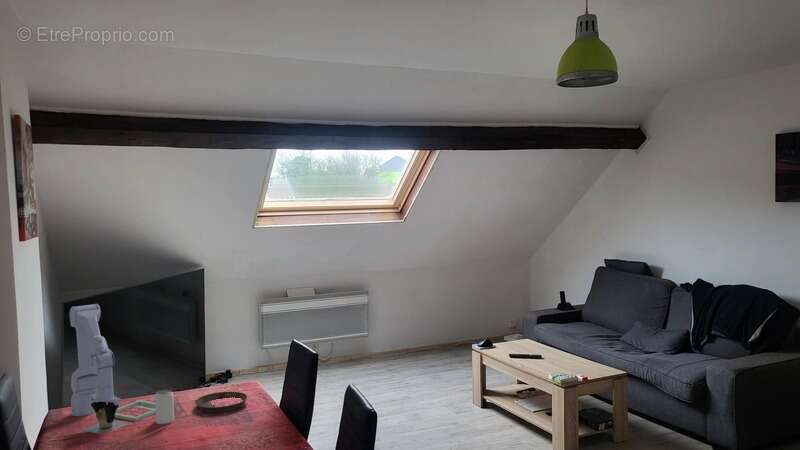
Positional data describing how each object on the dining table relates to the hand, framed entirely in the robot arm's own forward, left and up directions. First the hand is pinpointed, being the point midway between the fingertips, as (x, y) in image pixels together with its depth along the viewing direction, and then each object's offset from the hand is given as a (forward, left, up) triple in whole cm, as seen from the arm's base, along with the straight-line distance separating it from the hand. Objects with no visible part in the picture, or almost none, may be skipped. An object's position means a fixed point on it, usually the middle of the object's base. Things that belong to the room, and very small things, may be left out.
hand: (105, 421), depth 221 cm
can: (+16, +13, -3) cm, 21 cm away
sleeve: (0, 0, -2) cm, 2 cm away
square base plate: (0, 0, -3) cm, 3 cm away
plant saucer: (+23, +36, -3) cm, 43 cm away
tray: (-2, +16, -3) cm, 16 cm away
